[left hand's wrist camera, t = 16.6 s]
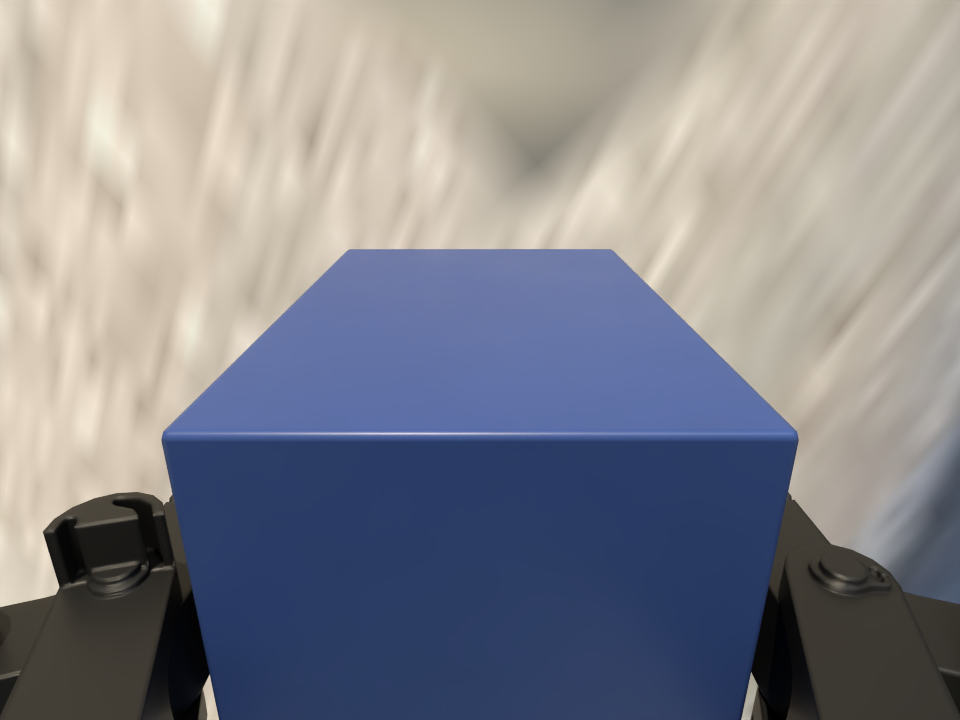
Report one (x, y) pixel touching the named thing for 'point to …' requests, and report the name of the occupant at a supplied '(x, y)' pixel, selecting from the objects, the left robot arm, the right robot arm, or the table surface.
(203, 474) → the bar
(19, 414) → the table surface
